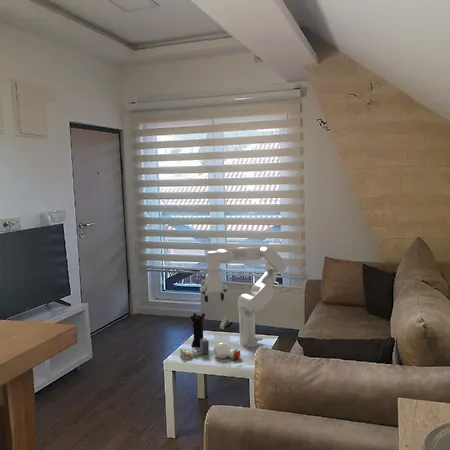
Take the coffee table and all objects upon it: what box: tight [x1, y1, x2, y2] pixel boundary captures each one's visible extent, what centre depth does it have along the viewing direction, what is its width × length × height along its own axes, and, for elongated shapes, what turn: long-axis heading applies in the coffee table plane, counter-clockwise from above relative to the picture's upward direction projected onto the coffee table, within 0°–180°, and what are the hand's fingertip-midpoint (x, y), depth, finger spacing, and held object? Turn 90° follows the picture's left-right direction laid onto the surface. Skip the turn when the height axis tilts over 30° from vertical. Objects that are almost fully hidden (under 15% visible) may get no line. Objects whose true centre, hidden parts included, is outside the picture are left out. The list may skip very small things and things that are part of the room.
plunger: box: [191, 337, 210, 356], centre depth 272 cm, size 8×5×8 cm, turn 110°
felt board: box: [179, 349, 215, 361], centre depth 272 cm, size 24×8×1 cm, turn 110°
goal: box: [179, 347, 194, 361], centre depth 269 cm, size 5×8×4 cm, turn 20°
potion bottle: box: [213, 341, 241, 361], centre depth 267 cm, size 9×10×15 cm
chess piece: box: [190, 312, 206, 348], centre depth 288 cm, size 8×8×20 cm
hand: (214, 301), depth 278 cm, fingers open, 9 cm apart
